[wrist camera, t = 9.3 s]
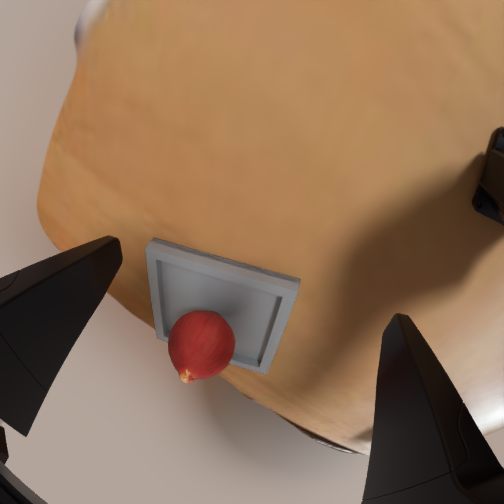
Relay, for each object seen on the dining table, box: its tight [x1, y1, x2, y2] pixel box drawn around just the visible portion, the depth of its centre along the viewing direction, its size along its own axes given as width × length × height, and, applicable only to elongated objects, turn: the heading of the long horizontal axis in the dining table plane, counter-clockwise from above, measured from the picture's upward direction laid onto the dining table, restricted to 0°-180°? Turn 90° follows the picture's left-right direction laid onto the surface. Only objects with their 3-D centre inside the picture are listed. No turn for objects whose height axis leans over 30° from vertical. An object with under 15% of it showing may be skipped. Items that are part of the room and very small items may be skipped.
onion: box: [168, 310, 236, 383], centre depth 24 cm, size 6×6×8 cm
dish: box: [145, 238, 301, 375], centre depth 27 cm, size 13×13×2 cm
